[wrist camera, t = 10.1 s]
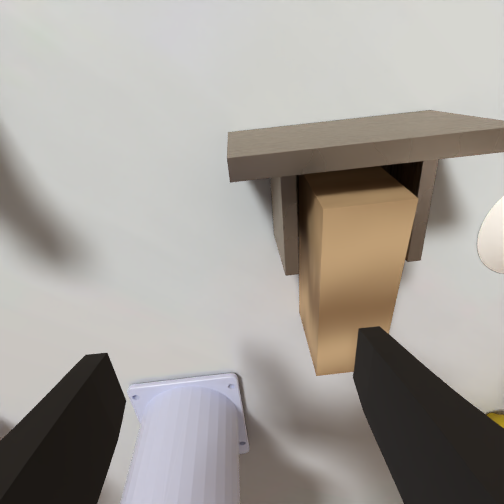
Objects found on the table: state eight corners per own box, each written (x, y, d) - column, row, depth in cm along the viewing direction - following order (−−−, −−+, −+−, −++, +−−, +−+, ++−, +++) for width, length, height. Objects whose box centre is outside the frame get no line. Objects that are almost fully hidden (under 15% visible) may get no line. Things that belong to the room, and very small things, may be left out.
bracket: (413, 219, 18) (486, 274, 13) (241, 238, 18) (245, 301, 13) (430, 110, 16) (530, 124, 10) (228, 132, 16) (227, 158, 10)
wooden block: (298, 165, 16) (323, 209, 12) (369, 157, 16) (418, 198, 12) (299, 312, 21) (316, 375, 17) (351, 306, 21) (380, 368, 17)
